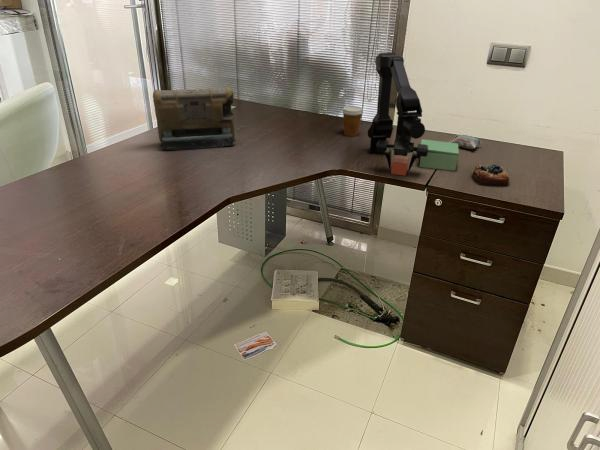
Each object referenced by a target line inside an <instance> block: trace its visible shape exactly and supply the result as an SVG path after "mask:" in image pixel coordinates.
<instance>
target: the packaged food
mask: <svg viewBox="0 0 600 450" xmlns="http://www.w3.org/2000/svg"><path fill="white" fill-rule="evenodd" d="M448 142H449V143H457V144H458V148H462V149H467V150H473V149H476V147H478V146H480V145H482V144H483V142H482V141H481V140H480V139H479V137H475V136H472V135H467V134H459V135H457V137H455V138H454V139H453V140H450V141H448Z"/></svg>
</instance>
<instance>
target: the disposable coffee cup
mask: <svg viewBox="0 0 600 450" xmlns="http://www.w3.org/2000/svg"><path fill="white" fill-rule="evenodd" d="M341 112H342V115H343V116H342V118H343V132H344V135H345V136H348V137H356V136H358V135H359V130H360V125H361V121H362V116H363V113H364V110H363V108H362V107H360V106H355V105H349V106H344V107H343V108H342V110H341Z"/></svg>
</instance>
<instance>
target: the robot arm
mask: <svg viewBox="0 0 600 450" xmlns="http://www.w3.org/2000/svg"><path fill="white" fill-rule="evenodd" d="M374 63H375V70H376V72H377V74H378V76H379V77H378V79H379V80H378V81H379V82H378V92H377V93H378V94H377V105H376V106H377V108H376V114H375V115H374V117H373V118H372V120H371V121H372V122H371V125H370V126H369V128H368V130H367V137H368V138H369V139H370V144H369V145H370V146H369V150H368V153H371V154H380V155H384V156H385V158H386V160H387V165H388V170H391V169H392V151H393V155H394V156H402V157H407V156H408V154H411V153H412V154H411V158H410V161H409V163H408V168H407V172H410V171H411V169H412V167H413V164H414V162H415V161H416V160H417V159H421V156H423V157H426V156H427V153H428V145H424V144H421V143H417V146H415V142H412V139H415V140H417V139H420V138H422V137H423V136H424V134H425V132H426V127H425V124H424V123H422V118H421V117H423V114H422V113H423V109H422V104H421V101H420V100H421V99H420V98H419V96H418V93H417V91H416V90H415V89H414V88H412V86H411V84H410V81H409V77H408V74H407V71H406V68H405V60H404V57H403V56H402V55H397V53H396V52H379V53H378V54H377V55H376V56H375V59H374ZM392 81H393V82H394V86H395V90H396V97H395V108H396V115H397V121H396V130H395V139H394V141H393V143H389V140H388V139H390V138H391V137H392V134H393V130H394V126H393V122H394V120H393V119H392V117H391V116H390V106H391V105H390V103H391V91H392Z"/></svg>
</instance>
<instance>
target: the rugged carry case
mask: <svg viewBox="0 0 600 450" xmlns="http://www.w3.org/2000/svg"><path fill="white" fill-rule="evenodd" d="M234 97H235V96H234V90H233V89H232V88H231V87H230V86H226V87H221V88H220V87H218V88H189V89H170V90H167V89H163V90H161V89H154V90H153V92H152V100H153V101H152V102H153V106H154V113H155V114H154V115H155V118H156V124H157V134H158V139H159V141H160V145H162V150H163V151H180V150H181V151H182V150H197V149H211V148H223V147H231V146H235V144H234V141H235V137H236V134H235V133H236V132H235V129H236V128H235V112H234V111H233V109H232V105H233V104H234V101H235V99H234Z"/></svg>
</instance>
